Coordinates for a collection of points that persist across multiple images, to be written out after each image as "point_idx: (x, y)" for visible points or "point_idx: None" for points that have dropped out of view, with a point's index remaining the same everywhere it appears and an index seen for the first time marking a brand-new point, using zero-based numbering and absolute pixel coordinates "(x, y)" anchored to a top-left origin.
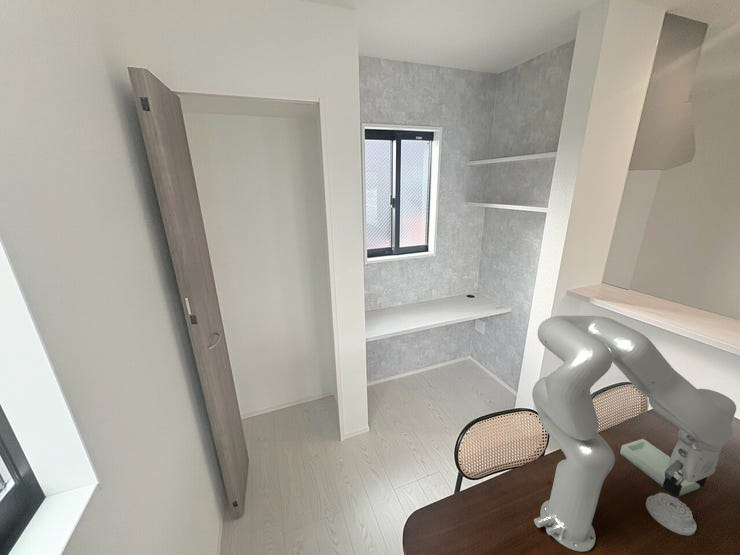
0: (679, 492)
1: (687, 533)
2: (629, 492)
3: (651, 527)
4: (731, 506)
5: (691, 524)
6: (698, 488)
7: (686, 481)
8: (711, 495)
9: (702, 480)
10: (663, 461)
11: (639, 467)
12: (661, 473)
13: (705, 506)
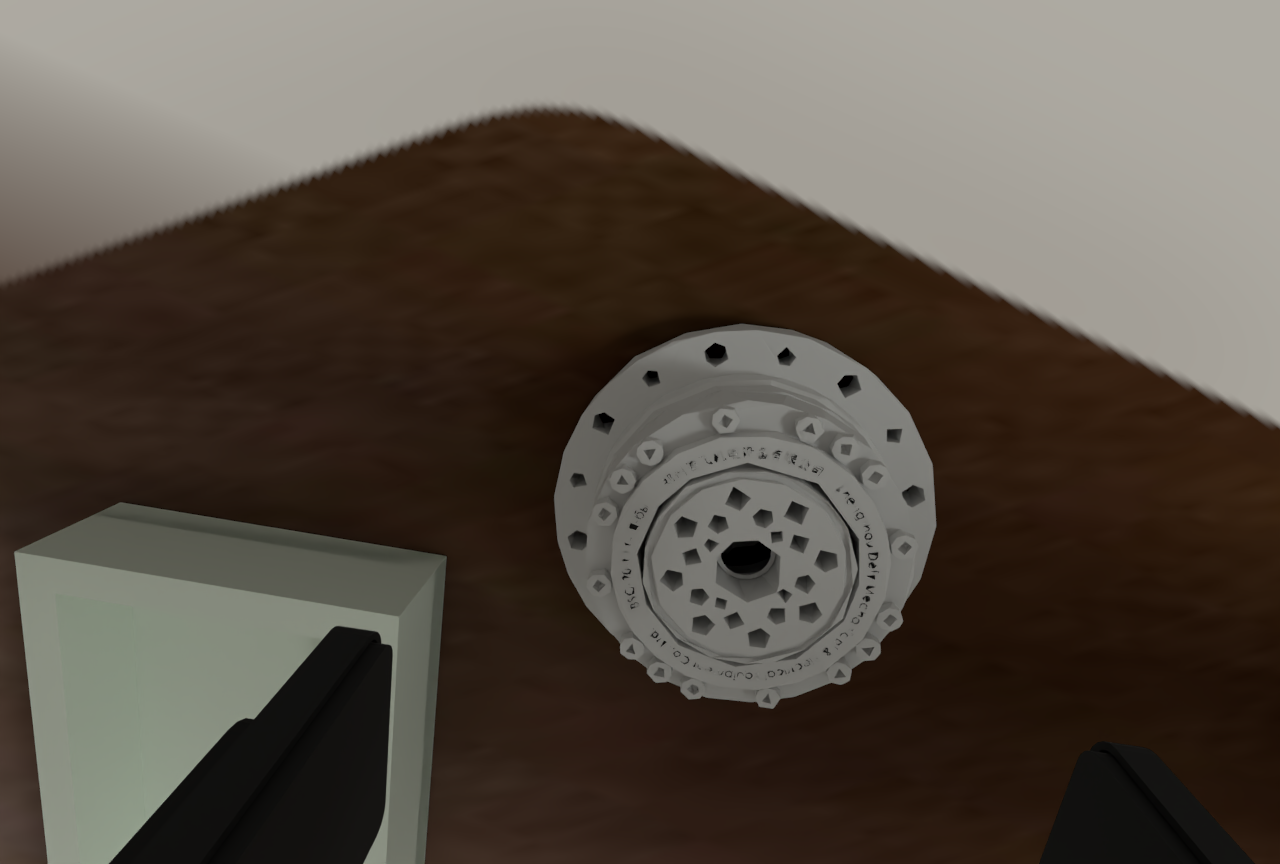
0: (1220, 847)
1: (837, 351)
2: (806, 762)
3: (1042, 526)
4: (40, 284)
5: (697, 375)
6: (129, 504)
7: (217, 618)
8: (92, 418)
9: (326, 752)
10: (137, 780)
11: (423, 836)
12: None
13: (287, 395)
